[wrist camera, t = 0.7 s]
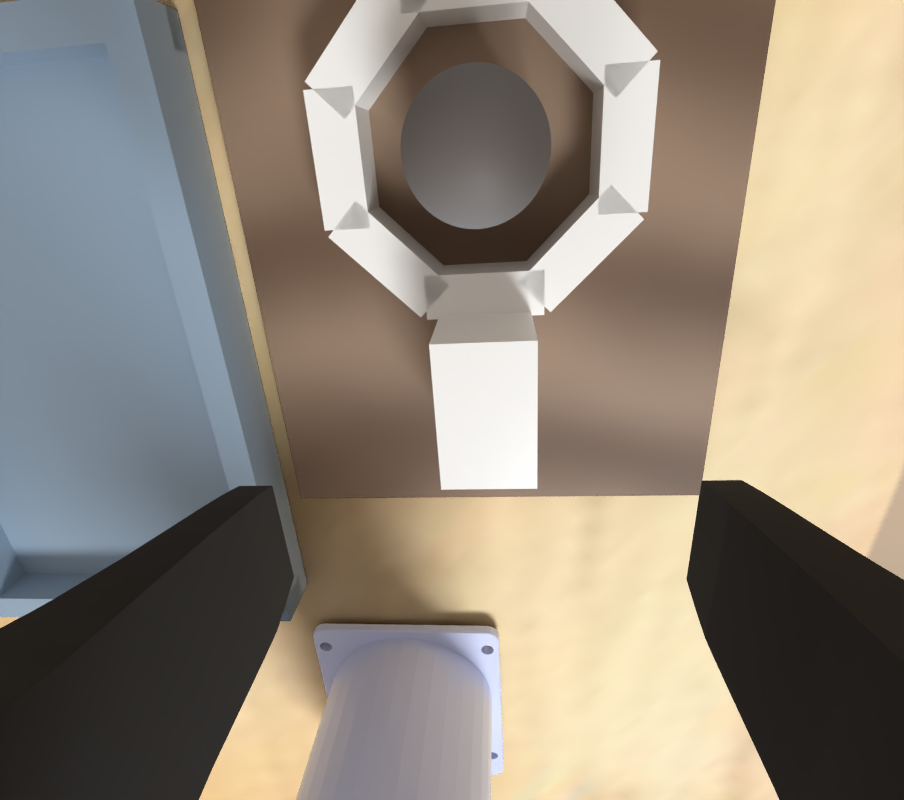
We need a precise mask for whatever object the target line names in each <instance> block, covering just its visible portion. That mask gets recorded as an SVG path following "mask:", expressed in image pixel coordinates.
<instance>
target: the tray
mask: <svg viewBox="0 0 904 800" xmlns="http://www.w3.org/2000/svg"><path fill="white" fill-rule="evenodd" d="M238 486H273V490H274V495H275V499H276V503H277V507H278V511H279V515H280V520H281V524H282V528H283V532H284V536H285V541H286V545H287V549H288V553H289V557H290V562H291V566H292V570H293V574H294V579H293V582H292V586H291V589H290V592H289V595H288V599H287V602H286V605H285V608H284V611H283V614H282V617H281V620H280V621H291V619H292V617H293V614H294V612H295V610H296V608H297V605H298V603H299V601H300V599H301V597H302V594H303V592H304V590H305V588H306V585H307V580H306V576H305V572H304V567H303V563H302V558H301V554H300V549H299V545H298V541H297V536H296V532H295V527H294V523H293V519H292V514H291V510H290V505H289V501H288V496H287V492H286V488H285V483H284V479H283V474H282V470H281V466H280V461H279V457H278V452H277V448H276V444H275V439H274V435H273V430H272V426H271V421H270V417H269V413H268V408H267V404H266V399H265V395H264V391H263V386H262V382H261V377H260V373H259V368H258V364H257V360H256V355H255V351H254V346H253V342H252V338H251V333H250V329H249V324H248V320H247V315H246V311H245V307H244V302H243V298H242V293H241V289H240V285H239V280H238V276H237V271H236V267H235V262H234V258H233V254H232V249H231V245H230V240H229V236H228V232H227V227H226V223H225V218H224V214H223V210H222V205H221V201H220V196H219V192H218V187H217V183H216V179H215V174H214V170H213V165H212V161H211V157H210V152H209V148H208V143H207V139H206V134H205V130H204V126H203V121H202V117H201V112H200V108H199V104H198V99H197V95H196V90H195V86H194V81H193V77H192V73H191V68H190V64H189V59H188V55H187V51H186V46H185V42H184V37H183V33H182V29H181V24H180V20H179V15H178V11H177V10H176V9H174V8H171V7H169V6H167V5H165V4H163V3H161V2H159V1H156V0H17V1H8V2H0V617H22V616H24V615H26V614H28V613H30V612H32V611H33V610H35V609H37V608H39V607H40V606H42V605H44V604H46V603H48V602H49V601H51V600H53V599H54V598H56V597H58V596H60V595H61V594H63V593H65V592H66V591H68V590H70V589H71V588H73V587H75V586H76V585H78V584H80V583H81V582H83V581H85V580H86V579H88V578H90V577H91V576H93V575H95V574H96V573H98V572H100V571H101V570H103V569H105V568H106V567H108V566H110V565H111V564H113V563H115V562H116V561H118V560H120V559H121V558H123V557H125V556H126V555H128V554H129V553H131V552H133V551H134V550H136V549H137V548H139V547H140V546H142V545H144V544H145V543H147V542H148V541H150V540H151V539H153V538H155V537H156V536H158V535H159V534H161V533H162V532H164V531H166V530H167V529H169V528H170V527H172V526H173V525H175V524H177V523H178V522H180V521H181V520H183V519H184V518H186V517H187V516H189V515H191V514H192V513H194V512H195V511H197V510H198V509H200V508H202V507H203V506H205V505H206V504H208V503H210V502H211V501H213V500H215V499H216V498H218V497H220V496H221V495H223V494H225V493H227V492H228V491H230V490H232V489H234V488H236V487H238Z"/></svg>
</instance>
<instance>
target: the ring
mask: <svg viewBox="0 0 904 800" xmlns="http://www.w3.org/2000/svg"><path fill="white" fill-rule="evenodd" d="M521 18H525V19H526V20H527V21H528V22H529V23H530V24H531V25H532V26H533V27H534V28H535V29H536V31H537V32H538V33H539V34H540V35H541V36H542V37H543V38H544V39H545V40H546V42H547V43H548V44H549V45H550V46H551V47H552V48H553V49H554V50H555V51H556V52H557V54H558V55H559V56H560V57H561V58H562V59H563V60H564V61H565V62H566V63H567V65H568V66H569V67H570V68H571V69H572V70H573V71H574V72H575V73H576V74H577V75H578V77H579V78H580V79H581V80H582V81H583V82H584V83H585V84H586V85H587V86H588V87H589V89H590V90H591V91H592V92H593V110H592V135H591V160H590V185H589V195H588V196H587V197H586V198H585V199H584V200H583V201H582V202H581V203H580V204H579V206H578V207H577V208H576V209H575V210H574V211H573V212H572V213H571V214H570V215H569V216H568V217H567V218H566V219H565V220H564V222H563V223H562V224H561V225H560V226H559V227H558V228H557V229H556V230H555V231H554V232H553V233H552V234H551V235H550V236H549V237H548V239H547V240H546V241H545V242H544V243H543V244H542V245H541V246H540V247H539V248H538V249H537V250H536V251H535V252H534V253H533V255H532V256H531V257H530V258H529V259H528V260H527V261H517V262H497V263H477V264H457V265H443V264H442V263H440V262H439V261H438V260H437V259H436V258H435V257H434V256H433V255H432V254H431V253H429V252H428V251H427V250H426V249H425V248H424V247H423V246H422V245H421V244H420V243H418V242H417V241H416V240H415V239H414V238H413V237H412V236H411V235H410V234H409V233H407V232H406V231H405V230H404V229H403V228H402V227H401V226H400V225H399V224H398V223H396V222H395V221H394V220H393V219H392V218H391V217H390V216H389V215H388V214H386V213H385V212H384V211H383V210H382V209H381V208H380V207H379V198H378V190H377V181H376V172H375V163H374V154H373V145H372V136H371V127H370V118H369V109H370V108H371V106H372V105H373V104H374V102H375V101H376V99H377V98H378V97H379V95H380V94H381V92H382V91H383V89H384V88H385V87H386V85H387V84H388V82H389V81H390V79H391V78H392V77H393V75H394V74H395V72H396V71H397V70H398V68H399V67H400V65H401V64H402V62H403V61H404V60H405V58H406V57H407V55H408V54H409V53H410V51H411V50H412V48H413V47H414V45H415V44H416V43H417V41H418V40H419V38H420V37H421V35H422V34H423V33H424V31H425V30H426V28H427V27H436V26H447V25H457V24H468V23H479V22H489V21H500V20H511V19H521ZM657 52H658V51H657V50H656V48H655V47H654V46H653V45H652V44H651V43H650V41H649V40H648V39H647V38H646V37H645V36H644V34H643V33H642V32H641V31H640V30H639V29H638V27H637V26H636V25H635V24H634V23H633V22H632V21H631V19H630V18H629V17H628V16H627V15H626V14H625V12H624V11H623V10H622V9H621V8H620V7H619V5H618V4H617V3H616V2H615V1H614V0H356V2H355V3H354V5H353V7H352V8H351V10H350V11H349V13H348V14H347V16H346V18H345V19H344V21H343V22H342V24H341V25H340V27H339V29H338V30H337V32H336V33H335V35H334V36H333V38H332V39H331V41H330V43H329V44H328V46H327V47H326V49H325V50H324V52H323V54H322V55H321V57H320V58H319V60H318V61H317V63H316V65H315V66H314V68H313V69H312V71H311V72H310V74H309V75H308V77H307V79H306V80H305V82H306V83H307V84H308V85H309V86H310V87H311V88H312V89H309V90H303V93H304V100H305V106H306V113H307V119H308V126H309V132H310V139H311V145H312V152H313V158H314V165H315V171H316V178H317V184H318V190H319V197H320V203H321V210H322V216H323V223H324V229H325V231H328V230H333V232H332V233H331V234H330V236H329V238H330V239H331V240H332V241H333V242H334V243H336V244H337V245H338V246H339V247H340V248H341V249H342V250H344V251H345V252H346V253H347V254H348V255H349V256H351V257H352V258H353V259H354V260H355V261H356V262H357V263H359V264H360V265H361V266H362V267H363V268H364V269H366V270H367V271H368V272H369V273H370V274H371V275H372V276H374V277H375V278H376V279H377V280H378V281H379V282H381V283H382V284H383V285H384V286H385V287H386V288H387V289H389V290H390V291H391V292H392V293H393V294H394V295H396V296H397V297H398V298H399V299H400V300H401V301H402V302H404V303H405V304H406V305H407V306H408V307H409V308H410V309H412V310H413V311H414V312H415V313H416V314H417V315H419V316H420V317H422V316H423V315H424V314H425V312H427V320H434V319H438V321H437V324H436V327H435V329H434V332H433V335H432V338H431V340H430V343H429V351H430V363H431V375H432V387H433V398H434V410H435V422H436V434H437V446H438V458H439V469H440V481H441V490H455V489H537V434H538V339H537V335H536V330H535V326H534V322H533V317H532V316H533V315H544V306H545V307H546V308H547V309H548V310H549V311H550V312H551V311H552V310H553V309H554V308H555V307H556V306H557V305H558V304H559V303H560V302H561V301H562V300H563V299H565V298H566V297H567V296H568V295H569V294H570V293H571V292H572V291H573V290H574V289H575V288H576V287H577V286H578V285H579V284H580V283H581V282H582V281H583V280H584V279H585V278H586V277H587V276H588V275H589V274H590V273H591V272H592V271H593V270H594V269H595V268H596V267H597V266H598V265H599V264H600V263H601V262H602V261H603V260H604V259H605V258H606V257H607V256H608V255H609V254H610V253H611V252H612V251H613V250H614V249H615V248H616V247H617V246H618V245H619V244H620V243H621V242H622V241H623V240H624V239H625V238H626V237H627V236H628V235H629V234H630V233H631V232H632V231H633V230H634V229H635V228H636V227H637V226H638V225H639V224H640V223H641V222H642V221H643V220H644V219H643V217H642V216H641V215H640V214H639V213H638V212H648V202H649V190H650V178H651V166H652V154H653V142H654V130H655V118H656V106H657V94H658V82H659V70H660V60H653V61H650V59H651V58H652V57H653V56H654V55H655V54H656V53H657Z"/></svg>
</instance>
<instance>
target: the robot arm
mask: <svg viewBox="0 0 904 800" xmlns="http://www.w3.org/2000/svg"><path fill="white" fill-rule="evenodd" d="M293 579H294V574H293V570H292V566H291V562H290V557H289V553H288V549H287V545H286V541H285V536H284V532H283V528H282V524H281V520H280V515H279V511H278V507H277V503H276V499H275V495H274V490H273V486H238V487H236V488H234V489H232V490H230V491H228V492H227V493H225V494H223V495H221V496H220V497H218V498H216V499H215V500H213V501H211V502H210V503H208V504H206V505H205V506H203V507H202V508H200V509H198V510H197V511H195V512H194V513H192V514H191V515H189V516H187V517H186V518H184V519H183V520H181V521H180V522H178V523H177V524H175V525H173V526H172V527H170V528H169V529H167V530H166V531H164V532H162V533H161V534H159V535H158V536H156V537H155V538H153V539H151V540H150V541H148V542H147V543H145V544H144V545H142V546H140V547H139V548H137V549H136V550H134V551H133V552H131V553H129V554H128V555H126V556H125V557H123V558H121V559H120V560H118V561H116V562H115V563H113V564H111V565H110V566H108V567H106V568H105V569H103V570H101V571H100V572H98V573H96V574H95V575H93V576H91V577H90V578H88V579H86V580H85V581H83V582H81V583H80V584H78V585H76V586H75V587H73V588H71V589H70V590H68V591H66V592H65V593H63V594H61V595H60V596H58V597H56V598H54V599H53V600H51V601H49V602H48V603H46V604H44V605H42V606H40V607H39V608H37V609H35V610H33V611H32V612H30V613H28V614H26V615H24V616H22V617H20V618H19V619H17V620H15V621H13V622H11V623H9V624H8V625H6V626H4V627H2V628H0V800H199V798H200V796H201V793H202V791H203V789H204V786H205V784H206V782H207V779H208V777H209V775H210V772H211V770H212V768H213V766H214V764H215V761H216V759H217V757H218V755H219V753H220V751H221V749H222V747H223V745H224V742H225V740H226V738H227V736H228V734H229V732H230V730H231V728H232V726H233V724H234V721H235V719H236V717H237V715H238V713H239V711H240V709H241V707H242V705H243V703H244V700H245V698H246V696H247V694H248V692H249V690H250V688H251V686H252V684H253V682H254V679H255V677H256V675H257V673H258V671H259V669H260V667H261V664H262V662H263V660H264V658H265V656H266V654H267V652H268V649H269V647H270V645H271V643H272V641H273V638H274V636H275V634H276V632H277V629H278V626H279V623H280V620H281V617H282V614H283V611H284V608H285V605H286V602H287V599H288V595H289V592H290V589H291V586H292V582H293ZM687 582H688V585H689V589H690V592H691V595H692V598H693V602H694V605H695V608H696V612H697V615H698V618H699V621H700V624H701V627H702V630H703V633H704V636H705V639H706V641H707V643H708V645H709V648H710V650H711V652H712V654H713V657H714V659H715V661H716V663H717V665H718V668H719V670H720V672H721V674H722V676H723V679H724V681H725V683H726V685H727V687H728V689H729V692H730V694H731V696H732V698H733V700H734V702H735V704H736V707H737V709H738V711H739V713H740V715H741V717H742V720H743V722H744V724H745V726H746V728H747V730H748V732H749V735H750V737H751V739H752V741H753V743H754V745H755V747H756V750H757V752H758V754H759V756H760V758H761V760H762V763H763V765H764V767H765V769H766V771H767V773H768V775H769V778H770V780H771V782H772V784H773V786H774V788H775V790H776V793H777V795H778V798H779V800H904V580H903V579H901V578H900V577H898V576H896V575H895V574H893V573H891V572H889V571H888V570H886V569H884V568H882V567H881V566H879V565H878V564H876V563H875V562H873V561H871V560H870V559H868V558H866V557H865V556H863V555H861V554H860V553H858V552H857V551H855V550H853V549H852V548H850V547H849V546H847V545H845V544H844V543H842V542H841V541H839V540H837V539H836V538H834V537H833V536H831V535H830V534H828V533H826V532H825V531H823V530H822V529H820V528H818V527H817V526H815V525H814V524H812V523H811V522H809V521H807V520H806V519H804V518H803V517H801V516H800V515H798V514H796V513H795V512H793V511H792V510H790V509H789V508H787V507H785V506H784V505H782V504H781V503H779V502H778V501H776V500H774V499H773V498H771V497H770V496H768V495H766V494H765V493H763V492H761V491H760V490H758V489H756V488H754V487H753V486H751V485H749V484H747V483H745V482H744V481H742V480H725V481H702V482H701V488H700V495H699V501H698V508H697V515H696V521H695V528H694V534H693V541H692V547H691V554H690V561H689V567H688V574H687ZM313 639H314V643H315V647H316V652H317V656H318V660H319V664H320V669H321V673H322V677H323V682H324V686H325V690H326V695H327V702H326V705H325V709H324V712H323V715H322V718H321V721H320V725H319V728H318V731H317V734H316V737H315V740H314V744H313V747H312V750H311V753H310V756H309V760H308V763H307V766H306V769H305V772H304V775H303V779H302V782H301V785H300V788H299V791H298V795H297V798H296V800H491V775H496V774H500V773H501V772H502V771H503V769H504V761H503V734H502V707H501V679H500V652H499V634H498V631H497V630H496V629H495V628H493V627H491V626H462V625H395V624H328V623H325V624H320V625H318V626H317V627H316V629H315V631H314V634H313ZM328 643H329V644H328ZM487 646H489V647H487Z"/></svg>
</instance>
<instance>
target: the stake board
mask: <svg viewBox="0 0 904 800" xmlns="http://www.w3.org/2000/svg"><path fill="white" fill-rule="evenodd" d="M614 1H615V2H616V3H617V4H618V5H619V7H620V8H621V9H622V10H623V11H624V12H625V14H626V15H627V16H628V17H629V18H630V19H631V21H632V22H633V23H634V24H635V25H636V26H637V27H638V29H639V30H640V31H641V32H642V33H643V34H644V36H645V37H646V38H647V39H648V40H649V41H650V43H651V44H652V45H653V46H654V47H655V48H656V50H657V51H658V52H657V53H656V54H655V55H654V56H653V57H652V58H651V59H650V61H653V60H660V70H659V82H658V94H657V106H656V118H655V130H654V142H653V154H652V166H651V178H650V190H649V202H648V212H638V213H639V214H640V215H641V216H642V217H643V219H644V220H643V221H642V222H641V223H640V224H639V225H638V226H637V227H636V228H635V229H634V230H633V231H632V232H631V233H630V234H629V235H628V236H627V237H626V238H625V239H624V240H623V241H622V242H621V243H620V244H619V245H618V246H617V247H616V248H615V249H614V250H613V251H612V252H611V253H610V254H609V255H608V256H607V257H606V258H605V259H604V260H603V261H602V262H601V263H600V264H599V265H598V266H597V267H596V268H595V269H594V270H593V271H592V272H591V273H590V274H589V275H588V276H587V277H586V278H585V279H584V280H583V281H582V282H581V283H580V284H579V285H578V286H577V287H576V288H575V289H574V290H573V291H572V292H571V293H570V294H569V295H568V296H567V297H566V298H565V299H563V300H562V301H561V302H560V303H559V304H558V305H557V306H556V307H555V308H554V309H553V310H552V311H551V312H550V311H549V310H548V309H547V308H546V307H545V306H544V315H533V316H532V317H533V322H534V326H535V330H536V335H537V339H538V434H537V489H455V490H441V481H440V469H439V458H438V446H437V434H436V422H435V410H434V398H433V387H432V375H431V363H430V351H429V343H430V340H431V338H432V335H433V332H434V329H435V327H436V324H437V321H438V319H434V320H427V312H425V314H424V315H423V316H422V317H420V316H419V315H417V314H416V313H415V312H414V311H413V310H412V309H410V308H409V307H408V306H407V305H406V304H405V303H404V302H402V301H401V300H400V299H399V298H398V297H397V296H396V295H394V294H393V293H392V292H391V291H390V290H389V289H387V288H386V287H385V286H384V285H383V284H382V283H381V282H379V281H378V280H377V279H376V278H375V277H374V276H372V275H371V274H370V273H369V272H368V271H367V270H366V269H364V268H363V267H362V266H361V265H360V264H359V263H357V262H356V261H355V260H354V259H353V258H352V257H351V256H349V255H348V254H347V253H346V252H345V251H344V250H342V249H341V248H340V247H339V246H338V245H337V244H336V243H334V242H333V241H332V240H331V239H330V238H329V236H330V234H331V233H332V232H333V230H328V231H325V229H324V223H323V216H322V210H321V203H320V197H319V190H318V184H317V178H316V171H315V165H314V158H313V152H312V145H311V139H310V132H309V126H308V119H307V113H306V106H305V100H304V93H303V90H309V89H312V88H311V87H310V86H309V85H308V84H307V83H306V82H305V80H306V79H307V77H308V75H309V74H310V72H311V71H312V69H313V68H314V66H315V65H316V63H317V61H318V60H319V58H320V57H321V55H322V54H323V52H324V50H325V49H326V47H327V46H328V44H329V43H330V41H331V39H332V38H333V36H334V35H335V33H336V32H337V30H338V29H339V27H340V25H341V24H342V22H343V21H344V19H345V18H346V16H347V14H348V13H349V11H350V10H351V8H352V7H353V5H354V3H355V2H356V0H194V2H195V6H196V11H197V16H198V20H199V25H200V30H201V34H202V39H203V44H204V48H205V53H206V58H207V62H208V67H209V72H210V76H211V81H212V86H213V90H214V95H215V100H216V104H217V109H218V114H219V118H220V123H221V128H222V132H223V137H224V142H225V146H226V151H227V156H228V160H229V165H230V170H231V174H232V179H233V184H234V188H235V193H236V198H237V202H238V207H239V211H240V216H241V221H242V225H243V230H244V235H245V239H246V244H247V249H248V253H249V258H250V263H251V267H252V272H253V277H254V281H255V286H256V291H257V295H258V300H259V305H260V309H261V314H262V319H263V323H264V328H265V333H266V337H267V342H268V347H269V351H270V356H271V361H272V365H273V370H274V375H275V379H276V384H277V389H278V393H279V398H280V403H281V407H282V412H283V417H284V421H285V426H286V431H287V435H288V440H289V445H290V449H291V454H292V459H293V463H294V468H295V473H296V477H297V482H298V487H299V491H300V496H301V498H406V497H527V496H647V495H700V488H701V482H702V478H703V471H704V465H705V458H706V452H707V445H708V439H709V432H710V426H711V419H712V412H713V406H714V399H715V393H716V386H717V380H718V373H719V367H720V360H721V354H722V347H723V341H724V334H725V327H726V321H727V314H728V308H729V301H730V295H731V288H732V282H733V275H734V269H735V262H736V256H737V249H738V243H739V236H740V229H741V223H742V216H743V210H744V203H745V197H746V190H747V184H748V177H749V171H750V164H751V158H752V151H753V144H754V138H755V131H756V125H757V118H758V112H759V105H760V99H761V92H762V86H763V79H764V73H765V66H766V60H767V53H768V46H769V40H770V33H771V27H772V20H773V14H774V7H775V1H776V0H614ZM592 110H593V92H592V91H591V90H590V89H589V87H588V86H587V85H586V84H585V83H584V82H583V81H582V80H581V79H580V78H579V77H578V75H577V74H576V73H575V72H574V71H573V70H572V69H571V68H570V67H569V66H568V65H567V63H566V62H565V61H564V60H563V59H562V58H561V57H560V56H559V55H558V54H557V52H556V51H555V50H554V49H553V48H552V47H551V46H550V45H549V44H548V43H547V42H546V40H545V39H544V38H543V37H542V36H541V35H540V34H539V33H538V32H537V31H536V29H535V28H534V27H533V26H532V25H531V24H530V23H529V22H528V21H527V20H526V19H525V18H521V19H511V20H500V21H489V22H479V23H468V24H457V25H447V26H436V27H427V28H426V30H425V31H424V33H423V34H422V35H421V37H420V38H419V40H418V41H417V43H416V44H415V45H414V47H413V48H412V50H411V51H410V53H409V54H408V55H407V57H406V58H405V60H404V61H403V62H402V64H401V65H400V67H399V68H398V70H397V71H396V72H395V74H394V75H393V77H392V78H391V79H390V81H389V82H388V84H387V85H386V87H385V88H384V89H383V91H382V92H381V94H380V95H379V97H378V98H377V99H376V101H375V102H374V104H373V105H372V106H371V108H370V109H369V118H370V127H371V136H372V145H373V154H374V163H375V172H376V181H377V190H378V198H379V207H380V208H381V209H382V210H383V211H384V212H385V213H386V214H388V215H389V216H390V217H391V218H392V219H393V220H394V221H395V222H396V223H398V224H399V225H400V226H401V227H402V228H403V229H404V230H405V231H406V232H407V233H409V234H410V235H411V236H412V237H413V238H414V239H415V240H416V241H417V242H418V243H420V244H421V245H422V246H423V247H424V248H425V249H426V250H427V251H428V252H429V253H431V254H432V255H433V256H434V257H435V258H436V259H437V260H438V261H439V262H440V263H442V264H443V265H457V264H477V263H497V262H517V261H527V260H528V259H529V258H530V257H531V256H532V255H533V253H534V252H535V251H536V250H537V249H538V248H539V247H540V246H541V245H542V244H543V243H544V242H545V241H546V240H547V239H548V237H549V236H550V235H551V234H552V233H553V232H554V231H555V230H556V229H557V228H558V227H559V226H560V225H561V224H562V223H563V222H564V220H565V219H566V218H567V217H568V216H569V215H570V214H571V213H572V212H573V211H574V210H575V209H576V208H577V207H578V206H579V204H580V203H581V202H582V201H583V200H584V199H585V198H586V197H587V196H588V195H589V185H590V160H591V135H592Z"/></svg>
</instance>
